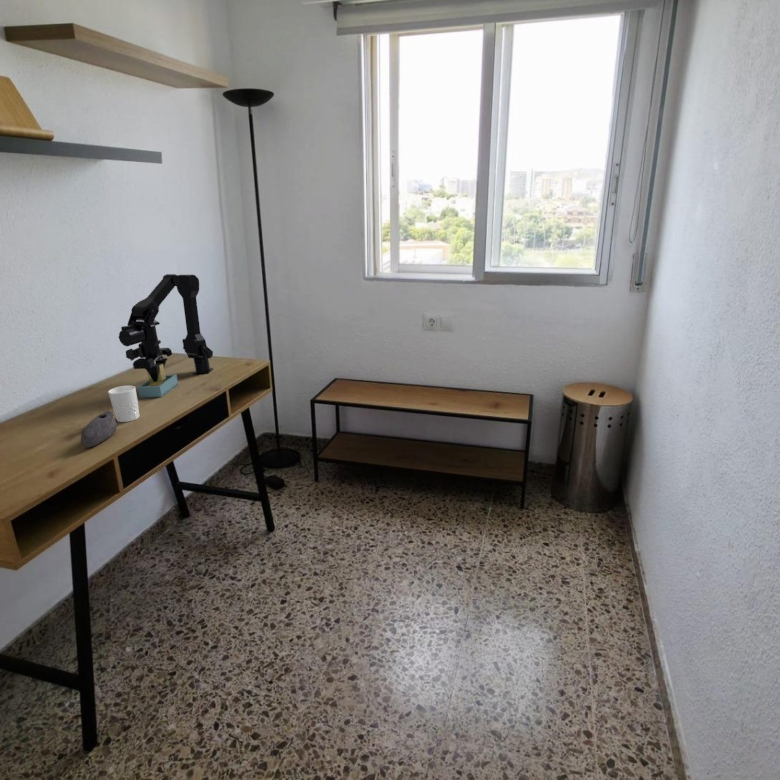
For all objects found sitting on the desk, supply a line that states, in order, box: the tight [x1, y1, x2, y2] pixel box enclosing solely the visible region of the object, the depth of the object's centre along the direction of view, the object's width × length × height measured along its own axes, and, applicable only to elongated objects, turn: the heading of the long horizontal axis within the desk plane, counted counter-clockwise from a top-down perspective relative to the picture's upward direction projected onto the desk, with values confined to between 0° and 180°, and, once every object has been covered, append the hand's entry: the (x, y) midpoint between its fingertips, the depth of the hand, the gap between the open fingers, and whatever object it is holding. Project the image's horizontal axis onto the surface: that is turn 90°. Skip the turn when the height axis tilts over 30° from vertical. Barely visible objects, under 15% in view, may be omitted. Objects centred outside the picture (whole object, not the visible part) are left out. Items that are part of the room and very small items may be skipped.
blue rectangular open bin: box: [137, 374, 179, 399], centre depth 196 cm, size 14×8×4 cm, turn 178°
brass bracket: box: [146, 363, 167, 386], centre depth 195 cm, size 6×5×8 cm
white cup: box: [107, 385, 140, 423], centre depth 169 cm, size 8×8×10 cm
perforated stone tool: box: [80, 410, 118, 448], centre depth 154 cm, size 15×5×7 cm, turn 174°
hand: (157, 380), depth 195 cm, fingers closed on brass bracket, 3 cm apart
